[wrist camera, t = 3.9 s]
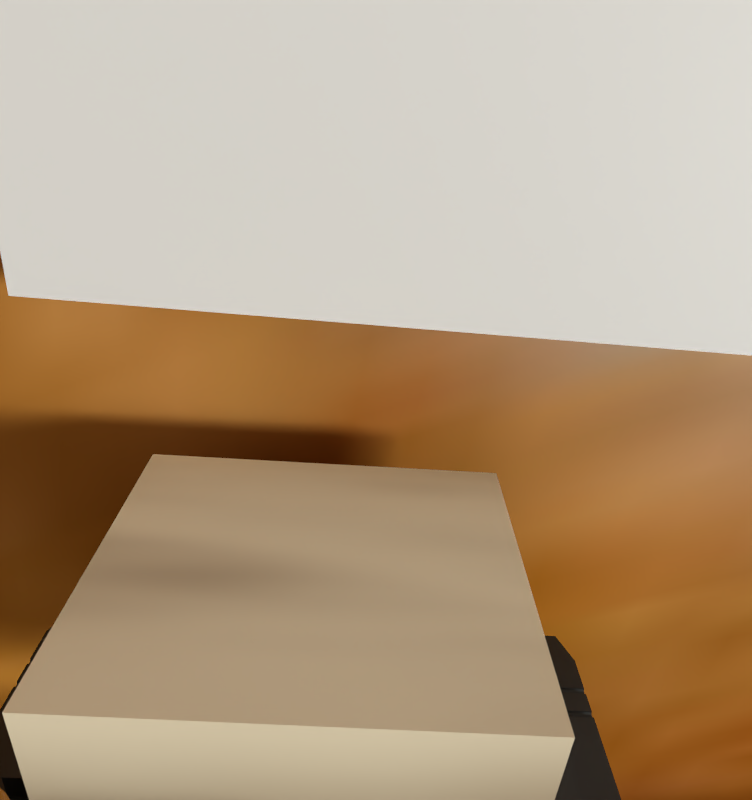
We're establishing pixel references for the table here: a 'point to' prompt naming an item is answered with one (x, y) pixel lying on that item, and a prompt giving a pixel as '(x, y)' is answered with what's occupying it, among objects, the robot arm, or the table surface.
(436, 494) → the birch block
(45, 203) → the board
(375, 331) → the table surface
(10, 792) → the robot arm
